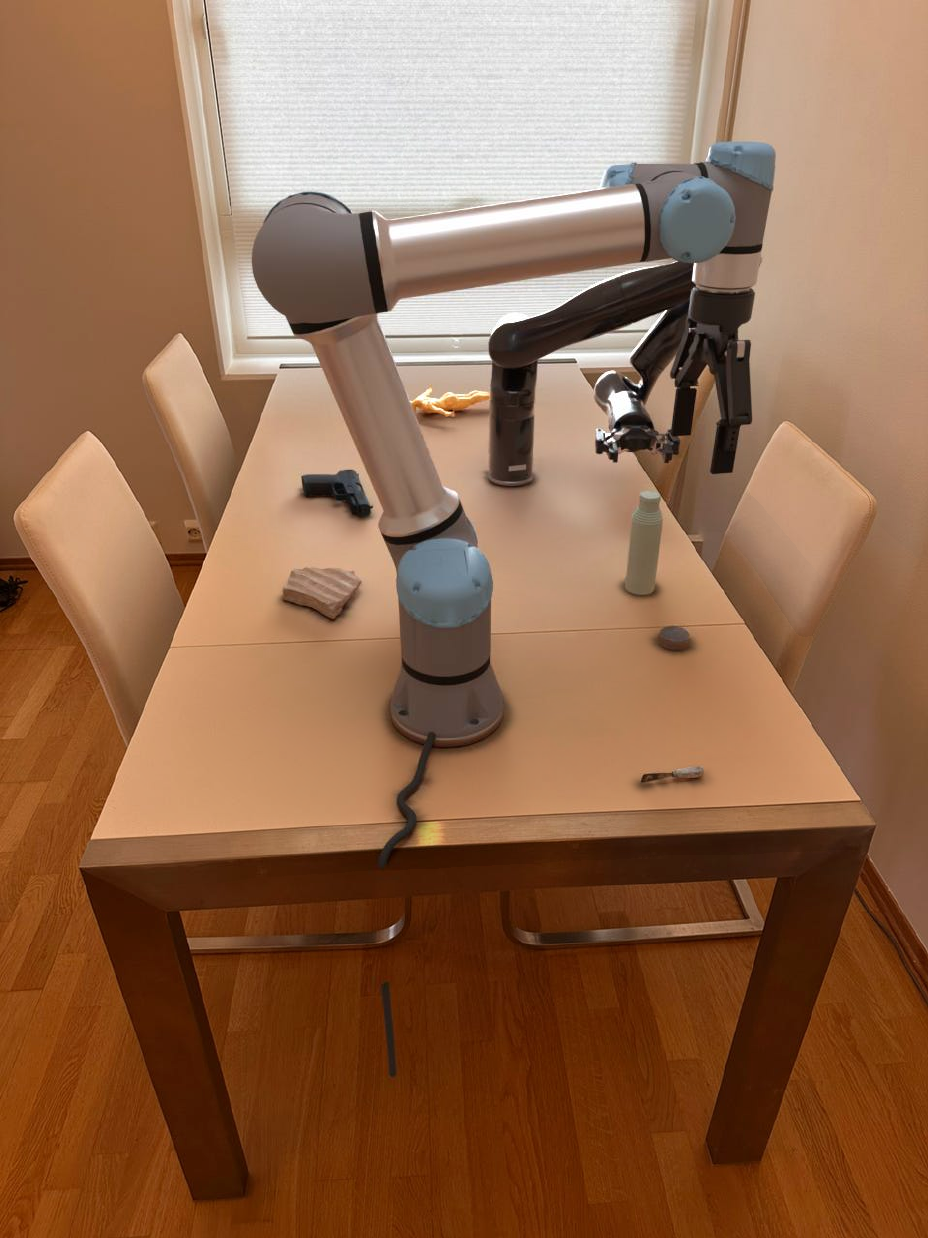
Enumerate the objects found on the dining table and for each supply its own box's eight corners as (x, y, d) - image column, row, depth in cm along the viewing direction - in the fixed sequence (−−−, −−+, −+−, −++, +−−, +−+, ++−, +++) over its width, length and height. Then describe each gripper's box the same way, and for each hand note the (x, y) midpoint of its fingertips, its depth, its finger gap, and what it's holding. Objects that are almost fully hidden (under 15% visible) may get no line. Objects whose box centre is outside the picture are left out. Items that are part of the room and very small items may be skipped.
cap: (653, 638, 136) (654, 629, 135) (676, 632, 138) (677, 623, 137) (670, 653, 133) (671, 644, 132) (693, 646, 134) (695, 637, 133)
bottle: (656, 583, 151) (668, 490, 142) (651, 597, 147) (663, 502, 138) (628, 578, 152) (637, 486, 143) (622, 592, 148) (632, 498, 139)
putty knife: (703, 777, 109) (705, 767, 109) (642, 788, 108) (644, 777, 107) (700, 772, 110) (702, 762, 109) (639, 782, 109) (640, 771, 108)
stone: (371, 585, 150) (370, 572, 149) (335, 620, 141) (334, 607, 139) (304, 572, 154) (303, 559, 153) (266, 605, 145) (264, 591, 144)
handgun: (311, 508, 169) (373, 501, 172) (300, 472, 183) (358, 466, 186) (312, 523, 171) (374, 516, 173) (302, 487, 185) (359, 480, 188)
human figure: (395, 413, 223) (394, 398, 221) (438, 390, 237) (438, 375, 235) (462, 429, 215) (462, 413, 213) (502, 404, 229) (503, 388, 227)
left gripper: (803, 308, 98) (769, 487, 109) (710, 265, 119) (690, 419, 130) (739, 312, 97) (711, 492, 108) (657, 267, 118) (641, 423, 129)
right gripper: (592, 403, 161) (600, 435, 147) (671, 404, 160) (687, 436, 147) (589, 443, 165) (597, 478, 151) (667, 444, 164) (681, 479, 151)
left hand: (699, 453), depth 119 cm, fingers open, 13 cm apart
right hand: (641, 457), depth 149 cm, fingers open, 8 cm apart
